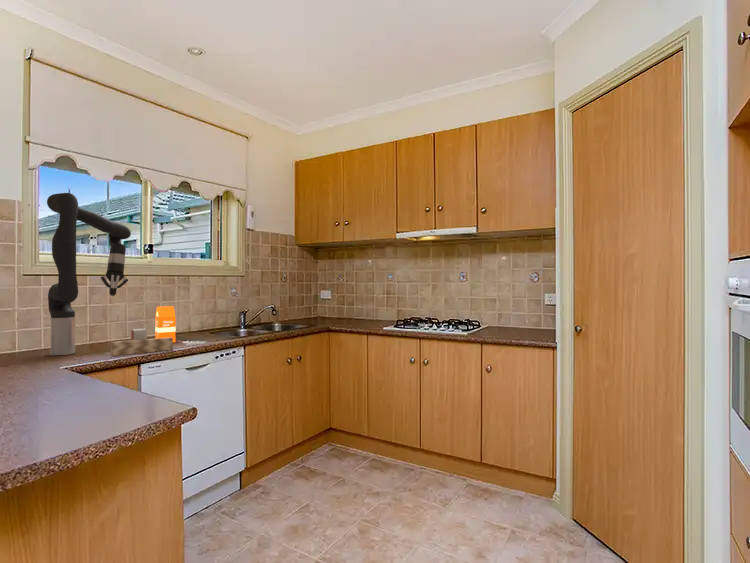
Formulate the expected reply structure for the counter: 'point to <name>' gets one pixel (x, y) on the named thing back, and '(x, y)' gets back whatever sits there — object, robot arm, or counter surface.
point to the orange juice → (165, 322)
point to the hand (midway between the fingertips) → (112, 295)
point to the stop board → (141, 346)
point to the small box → (138, 334)
